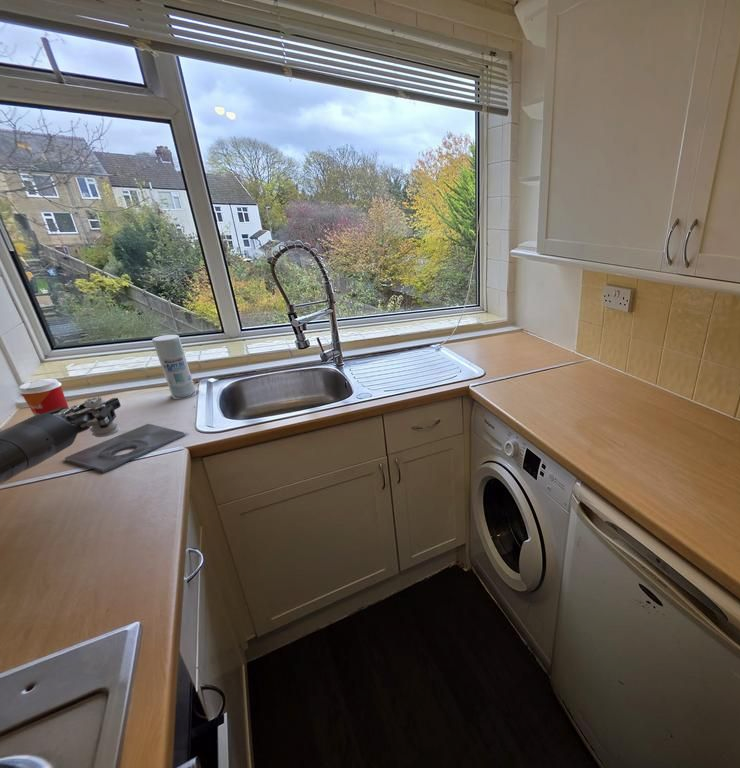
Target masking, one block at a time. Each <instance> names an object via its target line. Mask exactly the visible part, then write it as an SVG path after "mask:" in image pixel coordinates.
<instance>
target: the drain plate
mask: <svg viewBox="0 0 740 768" xmlns="http://www.w3.org/2000/svg"><path fill="white" fill-rule="evenodd" d="M182 437H185V433H184V431H181V430H180V431H179V430H175V429H172V428H167V427H163V426H159V425H154V424H151V423H146V424H144V425H141V426H139V427H136V428H134V429H131V430H129V431H126V432H124V433H121V434H118V435H117V436H114V437H111V438H110V439H107V440H104V441H102V442H99V443H96V444H95V445H92V446H90V447H87V448H85V449H83V450H80V451H78V452H75V453H73V454H70V455H68V456H65V457H64V459H65V461H66V462H68V463H71V464H75V465H77V466H81V467H85V468H87V469H91V470H94V471H97V472H100V473H104V474H105V473H107V472H109V471H111V470H113V469H117V468H118V467H120V466H122V465H124V464H127V463H128V462H131V461H134V460H135V459H137V458H139V457H142V456H143V455H146V454H148V453H150V452H152V451H154V450H156V449H158V448H162V447H163V446H166V445H167V444H169V443H172V442H174V441H177V440H178V439H180V438H182ZM130 448H131V449H133V448H135V449H133V450H132V451H129V452H126V453H123V454H118V455H114V454H115V453H117V452H119V451H123V450H125V449H130Z"/></svg>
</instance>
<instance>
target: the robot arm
mask: <svg viewBox="0 0 740 768" xmlns="http://www.w3.org/2000/svg"><path fill="white" fill-rule="evenodd" d="M90 399H91V400H93V398H90ZM84 405H85V402H83V403H80V404H74V405H72V406H71V407H69V406H68V407H69V408H68V407H61V408H58V409H55V410H52V411H49V412H46V413H43V414H38V415H32V416H30V417H28V418H27V419H24V420H21V421H20V422H18V423H16V424H13V425H11V426H9V427H7V428H5V429H3V430H1V431H0V485H2V484H4V483H6V482H7V481H9V480H11V479H12V478H14V477H16V476H18V475H20V474H21V473H23V472H25V471H27V470H29V469H32V468H34V467H36V466H38V465H40V464H42V463H44V462H45V461H46V460H48V459H50V458H52V457H53V456H56V455H58V454H59V453H60V452H62V451H63V450H65V449H67V448H69V447H70V446H72V445H73V444H74V442H75V440H76V438H77V436H78V434H80V433H83V432H86V431H88V430H89V429H91V428H92V426H96V425H99V426H100V428H106V427H108V426H109V425H110V424H111V422H112V421H113V420H114V421H115V419H116V418H117V414H116V412H115V410H118V409H119V408H121V406H122V404H121V403H120V399H119V398H118V397H112V398H110V399H107V400H105V402H104V403H102V404H100V405H98V406H96V407H94V408H86V407H85V406H84ZM98 410H99V412H100V413H99V414H96V411H98Z"/></svg>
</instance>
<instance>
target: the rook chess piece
mask: <svg viewBox="0 0 740 768" xmlns="http://www.w3.org/2000/svg"><path fill="white" fill-rule="evenodd" d="M91 399H93V400H91ZM104 402H106V400H104V399H103V398H102V397H101V396H98V397H95V396H94V397H92V398H87V399H84V403H85V405H84V406H85V407H86V408H94V407H96V406H98V405H100V404H102V403H104ZM99 413H100V412H99V410H98V411H96V414H99ZM120 429H121V427H120V426H119V423H118V422H117V421H115V419H114V420H113V421H112V422H111V424H110V425H109V426H108V427H106V428H100V426H99V425H96V426H91V427H90V432H91V435H92V436H93V437H95V438H105V437H109V436H113V435H115V434H117V433H119V431H120Z"/></svg>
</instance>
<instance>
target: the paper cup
mask: <svg viewBox="0 0 740 768" xmlns="http://www.w3.org/2000/svg"><path fill="white" fill-rule="evenodd" d="M62 385H63V383H62V382H60V381H59V380H58V379H56V378H42V379H38V380H33V381H32V382H31V381H28V382H26V383H25V382H24V383H22V384H21V385H19V386H18V388H19V390H18V394H20V395H22V397H23V399H24V401H25V402H26V404H27V405H28V407H29V409H30V411H31V412H32V414H33V416H35V415H38V414H43V413H46V412H49V411H52V410H55V409H58V408H61V407H68V408H70V407H69V405H68V402H67V399H66V396H65V394H64V391H63V388H62Z"/></svg>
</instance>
